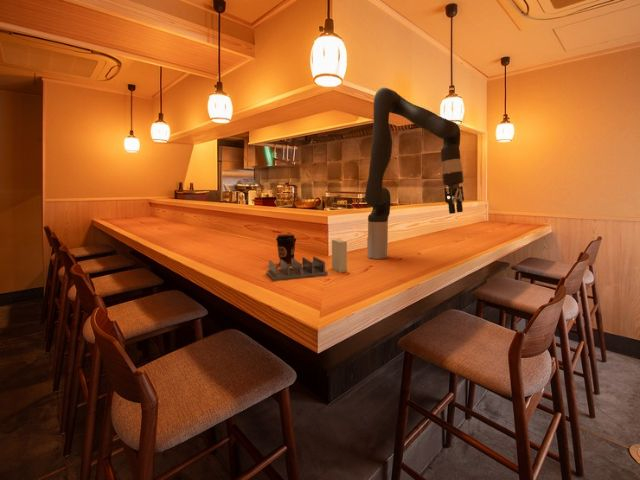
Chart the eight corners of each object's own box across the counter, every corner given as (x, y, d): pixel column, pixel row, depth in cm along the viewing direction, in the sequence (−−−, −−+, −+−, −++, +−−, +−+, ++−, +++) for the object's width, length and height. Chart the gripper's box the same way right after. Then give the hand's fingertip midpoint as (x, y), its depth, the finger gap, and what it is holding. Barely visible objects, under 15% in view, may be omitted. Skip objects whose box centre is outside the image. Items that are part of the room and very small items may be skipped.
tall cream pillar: (332, 268, 140) (331, 239, 139) (338, 267, 141) (338, 239, 140) (339, 272, 133) (339, 242, 131) (346, 271, 134) (346, 241, 132)
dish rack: (266, 273, 133) (266, 260, 132) (316, 268, 140) (316, 256, 139) (273, 280, 122) (273, 266, 121) (327, 274, 129) (327, 261, 128)
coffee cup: (283, 267, 143) (282, 236, 141) (273, 264, 149) (271, 235, 147) (300, 264, 148) (299, 234, 147) (289, 261, 155) (288, 233, 153)
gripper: (449, 174, 142) (453, 212, 143) (435, 173, 131) (440, 215, 132) (467, 171, 137) (471, 210, 138) (455, 169, 126) (459, 212, 127)
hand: (456, 212), depth 135 cm, fingers open, 8 cm apart
